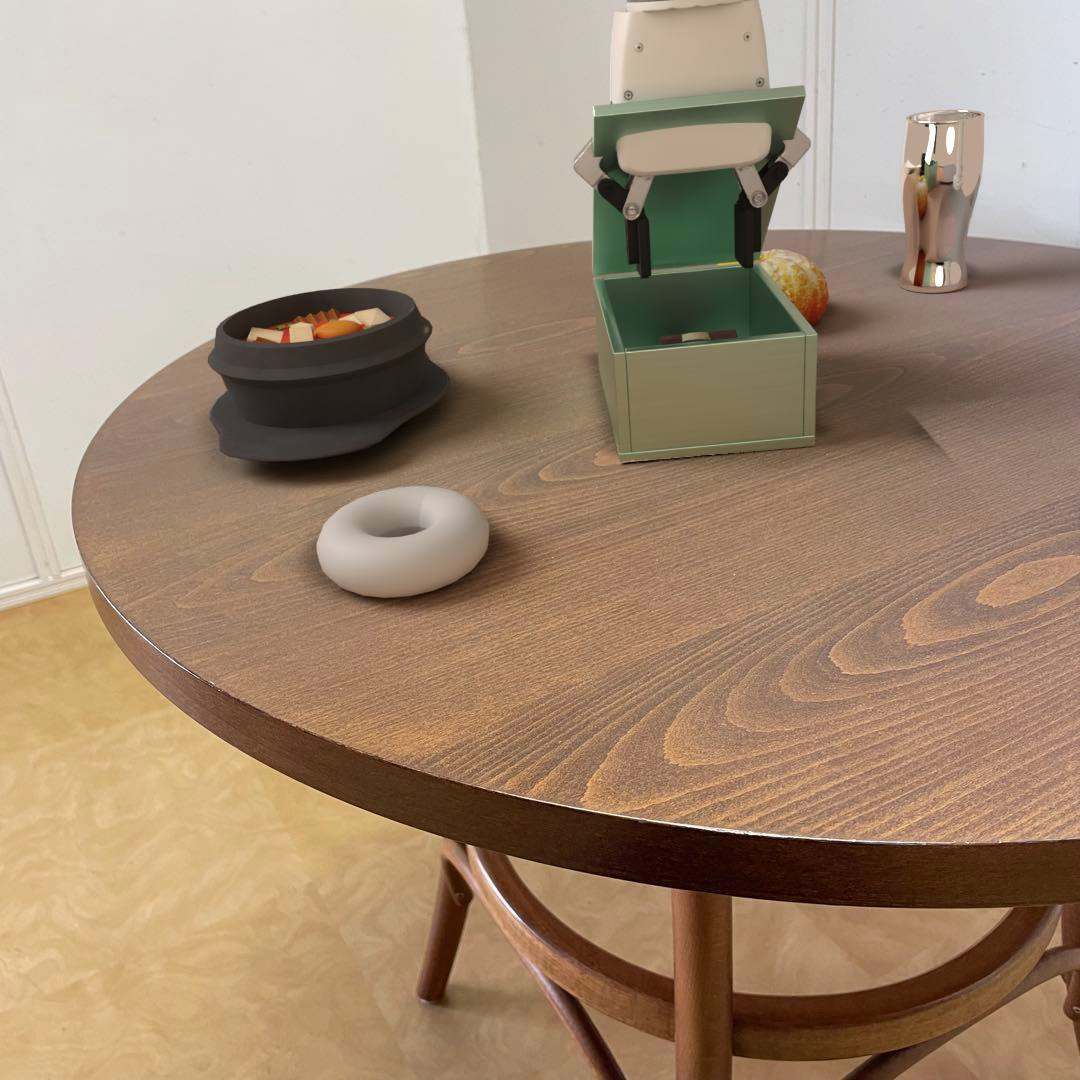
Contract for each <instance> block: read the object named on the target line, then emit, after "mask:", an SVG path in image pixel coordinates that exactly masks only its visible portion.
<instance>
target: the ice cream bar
mask: <svg viewBox="0 0 1080 1080" xmlns="http://www.w3.org/2000/svg"><path fill="white" fill-rule="evenodd" d="M730 338H738V337H737V332H736V330H735V329H733V330H722V331H712V332H695V333H687V334H681V335H670V336H662V337H661V338H660V345H667V344H677V343H688V342H698V341H709V340H719V339H730Z"/></svg>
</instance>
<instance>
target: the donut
mask: <svg viewBox="0 0 1080 1080" xmlns="http://www.w3.org/2000/svg"><path fill="white" fill-rule="evenodd" d="M489 537H490V523H489V520H488V518H487V516H486V514H485V513H484V512H483V510H482V509H481V507H480V505H478V503H477V502H476V501H474V500H473V499H471V498H470V497H467V496H466V495H464V494H462V493H461V492H459V491H456V490H454V489H453V490H452V489H449V488H445V487H441V486H427V485H411V486H398V487H392V488H388V489H382V490H379V491H375V492H373V493H369V494H367V495H364V496H361V497H359V498H355V499H354V500H352V501H351V502H348V503H347V504H345V505H343V506H342V507H340V508H339V509H338V510H337V511H335V512H334V513H333V514H332V515H331V516H330V517H329V518H328V519H327V520H326V521H325V523H323V525H322V528H321V531H320V533H319V535H318V538H317V540H316V541H317V542H316V554H317V558H318V561H319V565H320V568H321V569H322V572H323V573H324V575H326V576H327V578H329V579H330V580H331V581H332V582H333V583H335V584H336V585H337V586H338V587H340V588H341V589H344V590H346V591H348V592H351V593H355V594H358V595H360V596H364V597H372V598H384V599H388V598H389V599H390V598H402V597H412V596H416V595H420V594H421V595H422V594H425V593H426V594H427V593H430V592H433V591H436V590H439V589H441V588H443V587H446V586H448V585H450V584H454V583H455V582H457V581H458V580H460V579H461V578H463V577H464V576H466V575H467V574H469V573H470V572H471V571H473V569H474V568H475V567H476V566H477V565H478V564H479V563H480V561H481V560H482V559H483V557H484V556H485V554H486V552H487V550H488V546H489V540H490V538H489Z"/></svg>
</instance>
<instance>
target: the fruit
mask: <svg viewBox="0 0 1080 1080" xmlns="http://www.w3.org/2000/svg"><path fill="white" fill-rule="evenodd" d="M754 262H759V263H760V264H761V266H762V267H763V268H764V269H765V271H766V272H767V273H768V274H769V275H770V277H771V278H772V279H773V280H774V282H775V283H776V284H777V285H778V286H779V288H780V289H781V290H782V291H783V292H784V294H785V295H786V296H787V297H788V299H789V300H790V301H791V302H792V303H793V305H794V306H795V307H796V308H797V310H798V311H799V312H800V313H801V314H802V316H803V317H804V318H805V319H806V320H807V322H808V323H809V324H810V325H811V327H813V326H814V325H815V324H817V323H819V322H820V320H822V316H823V315H824V314H825V313H826V311H827V307H828V306H829V297H830V294H829V288H828V282H827V280H826V277H825V275H824V274H823V268H822V269H820V267H819V266H817V264H816V263H814V262H813V261H812V260H811V259H810V258H809V257H807V256H804V255H802V254H800V253H798V252H796V251H795V252H794V251H791V250H787V249H779V248H778V249H777V248H773V249H770V250H766V251H764V250H762V251H761V254H760V258H759V260H754ZM738 263H739V262H731V263H721V264H716V266H718V265H728V264H738Z"/></svg>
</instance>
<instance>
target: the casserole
mask: <svg viewBox="0 0 1080 1080" xmlns="http://www.w3.org/2000/svg"><path fill="white" fill-rule="evenodd" d="M433 329H434V328H433V325H432V324H431V321H429V320H428V319H427V318H426V317H425V316H423V315H422V314H421V311H420V310H419V307H418V306H417V304H416V302H415V300H414V298H413V297H411V296H410V295H408V294H407V293H404V292H400V291H397V290H392V289H387V288H373V287H343V288H329V289H320V290H319V289H318V290H313V291H307V292H300V293H295V294H294V293H293V294H290V295H285V296H282V297H277V298H274V299H270V300H267V301H263V302H260V303H257V304H254V305H251V306H249V307H246V308H244V309H241V310H238V311H237V312H235V313H233V314H231V315H229V316H227V317H226V318H224V319H223V320H222V321H221V322H219V324H218V325H217V327H216V328H215V337H214V347H213V348H212V349H211V351H210V353H209V354H208V355H207V364H208V365H209V367H210V369H212V370H213V371H214V372H215V373H216V374H218V375H220V377H221V380H222V381H223V384H224V386H225V389H226V391H225V392H224V393H222V395H221V396H220V397H218V398H217V399H216V401H215V403H214V404H213V406H212V407H211V409H210V411H209V420H210V422H211V423H212V425H213V427H214V428H215V430H216V431H217V433H218V438H219V439H218V441H219V452H220V453H222V454H224V455H225V456H227V457H229V458H234V459H239V460H244V461H253V462H269V463H270V462H298V461H308V460H319V459H325V458H331V457H336V456H342V455H347V454H350V453H351V454H352V453H354V452H359V451H363V450H366V449H369V448H370V447H373V446H375V445H377V444H379V443H381V441H383V440H385V438H387V437H388V436H389V435H390V434H392V433H393V432H394V431H396V430H397V428H399V427H400V426H401V425H403V424H404V423H406V422H408V421H409V420H411V419H414V418H415V417H416V416H418V415H420V414H421V413H424V412H425V411H427V410H428V409H430V408H431V407H434V405H435V404H437V403H438V402H439V401H441V399H443V398H444V397H445V395H446V394H447V392H448V390H449V389H450V387H451V378H450V376H449V374H448V373H447V371H446V370H444V369H443V368H442V367H440V366H439V365H438V364H437V363H435V362H434V361H432V360H431V358H430V357H429V355H428V353H427V351H426V343H427V342H428V341H429V339H430V337H431V336H432V333H433Z"/></svg>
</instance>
